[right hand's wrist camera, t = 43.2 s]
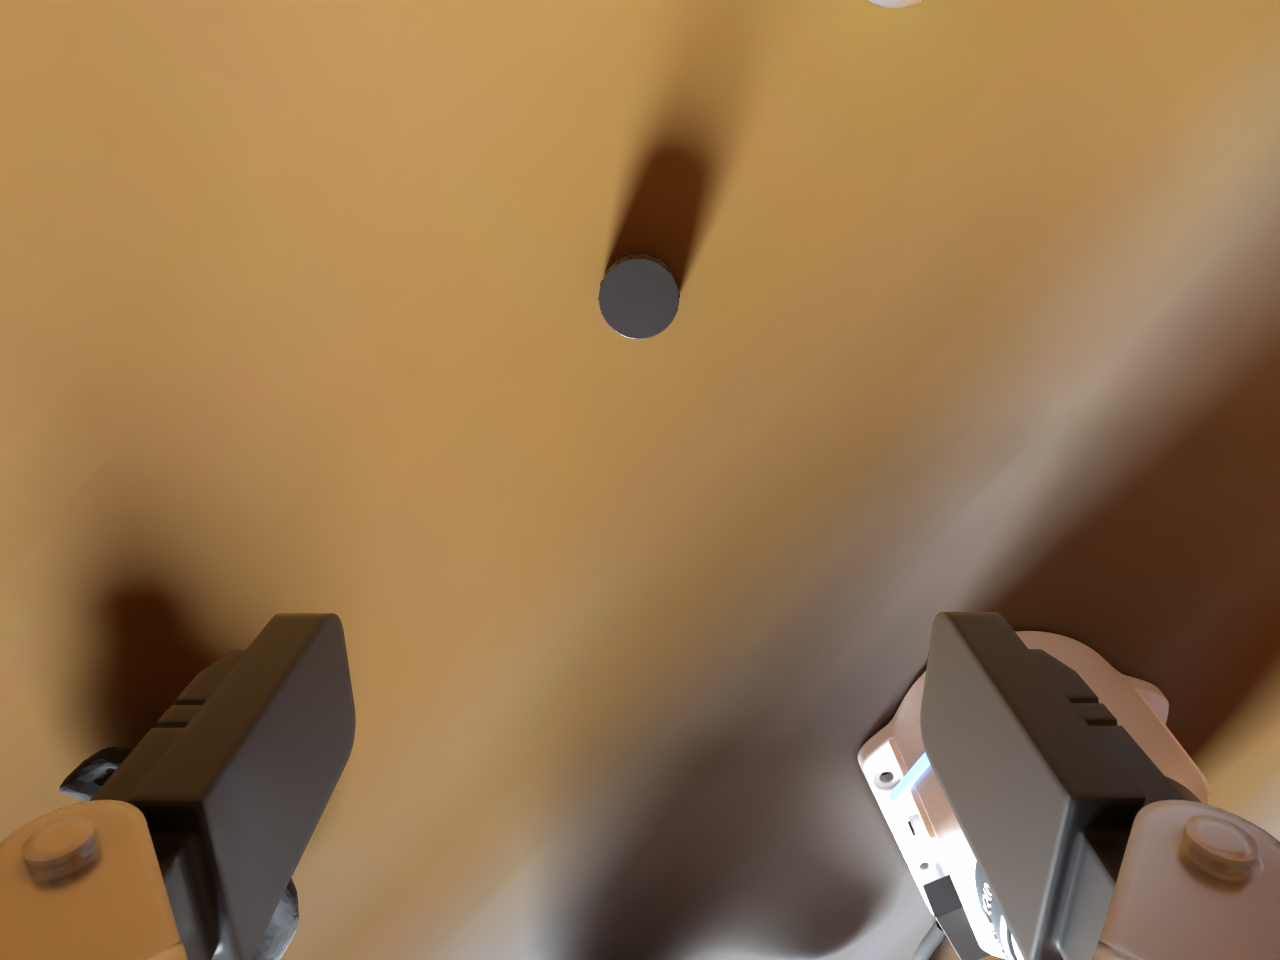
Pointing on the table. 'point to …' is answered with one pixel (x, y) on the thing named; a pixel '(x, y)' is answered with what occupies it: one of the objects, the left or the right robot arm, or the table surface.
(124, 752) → the oil lamp
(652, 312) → the cap
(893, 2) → the bottle
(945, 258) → the table surface
